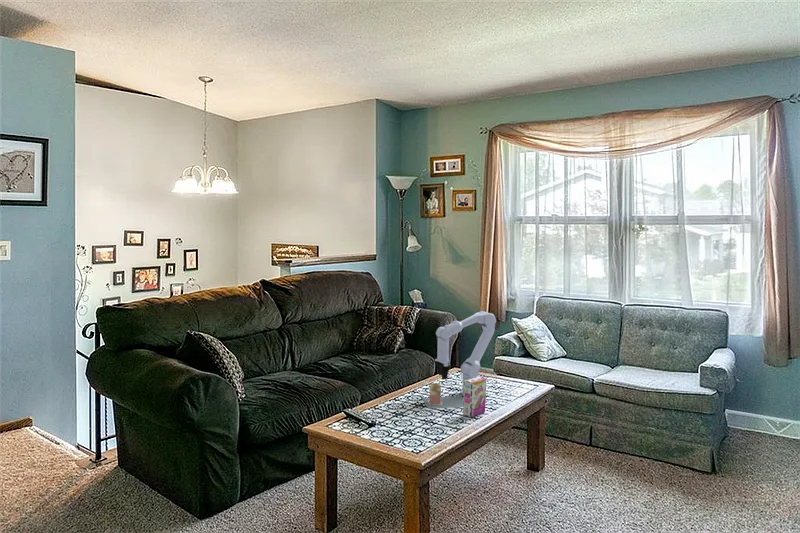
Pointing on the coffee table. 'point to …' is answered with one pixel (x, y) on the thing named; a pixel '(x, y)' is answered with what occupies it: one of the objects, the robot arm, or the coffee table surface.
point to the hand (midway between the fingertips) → (442, 376)
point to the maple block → (435, 389)
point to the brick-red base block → (434, 399)
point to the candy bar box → (474, 396)
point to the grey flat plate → (445, 402)
